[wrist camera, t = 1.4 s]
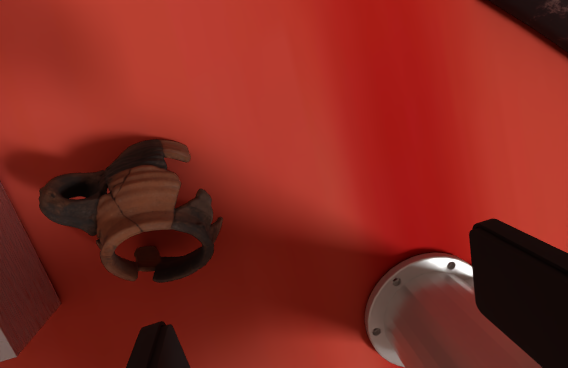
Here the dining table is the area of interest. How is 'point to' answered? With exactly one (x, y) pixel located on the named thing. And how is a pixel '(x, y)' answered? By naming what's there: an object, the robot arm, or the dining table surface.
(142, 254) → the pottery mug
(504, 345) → the robot arm
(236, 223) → the dining table surface
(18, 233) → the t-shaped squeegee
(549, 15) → the diary
